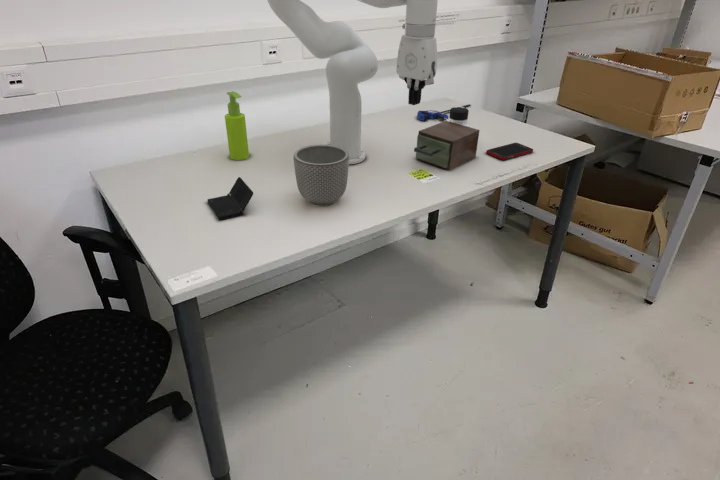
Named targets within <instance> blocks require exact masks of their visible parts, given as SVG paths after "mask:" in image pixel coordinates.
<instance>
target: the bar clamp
mask: <svg viewBox="0 0 720 480" xmlns="http://www.w3.org/2000/svg"><path fill="white" fill-rule="evenodd" d="M471 106H472V104H466V105H462V106H460V107H465V108H466V107H467V108H468V107H471ZM448 112H449V113H450V109H447V110H443V111H440V110H435V109H429V110H418V111H417V112H416V113H417V114H416V118H417V120H419V121H421V122H425V121H427V120H428V119H430V120H434V119H438V120H441V121H445V119H449V114H446V113H448Z"/></svg>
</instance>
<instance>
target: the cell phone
mask: <svg viewBox="0 0 720 480" xmlns="http://www.w3.org/2000/svg"><path fill="white" fill-rule="evenodd" d="M533 152H534V148H532V147H529V146H527V145H524V144H522V143H519V142H511V143H508V144H505V145H500V146H496V147H493V148H489V149H486V152H485V154H487V155H489V156H491V157H494V158H496V159H499V160H501V161H505V160H508V159H513V158H517V157H520V156H524V155H527V154H531V153H533Z"/></svg>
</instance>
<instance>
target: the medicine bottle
mask: <svg viewBox="0 0 720 480" xmlns="http://www.w3.org/2000/svg"><path fill="white" fill-rule="evenodd" d="M449 110H450V111H449V115H448V119H447V118H445V121H449V122H453V123H456V124H460V125H463V126H467V127H471V125H470V124H469V122H468V118H469V113H470V112H469V109H468V107H467V108H466V107H461V106H452V107H451V108H450V109H449Z"/></svg>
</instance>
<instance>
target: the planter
mask: <svg viewBox="0 0 720 480" xmlns="http://www.w3.org/2000/svg"><path fill="white" fill-rule="evenodd" d="M349 166H350V164H349V154H348V152H347V151H346V150H345V149H343V148H341V147H338V146H334V145H327V144H323V143H322V144H321V143H319V144H311V145H306V146H302V147H300V148H298V149H296V150H295V152H294V153H293V167H294V175H295V180H296V186H297V189H298V192H299V194H300V195H301V197H302V198H304V199H305V200H307V201H308V202H309V203H310V204H311V205H313V206H316V207H328V206H331V205H333V204H335V203H336V201H338V200H339V199H340V198H341V197H342V196H343V195H344V194H345V192H346V190H347V186H348V178H349Z"/></svg>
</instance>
